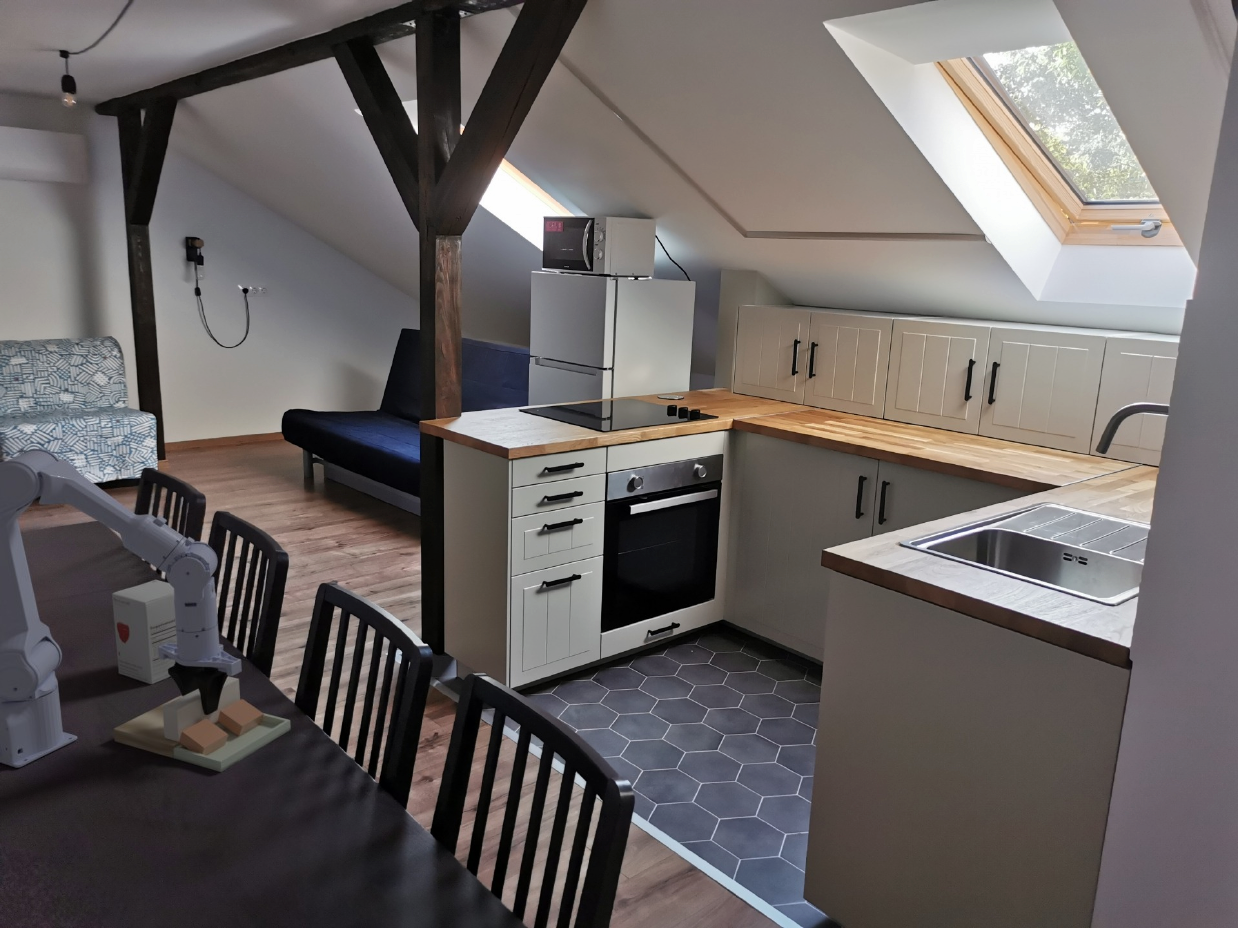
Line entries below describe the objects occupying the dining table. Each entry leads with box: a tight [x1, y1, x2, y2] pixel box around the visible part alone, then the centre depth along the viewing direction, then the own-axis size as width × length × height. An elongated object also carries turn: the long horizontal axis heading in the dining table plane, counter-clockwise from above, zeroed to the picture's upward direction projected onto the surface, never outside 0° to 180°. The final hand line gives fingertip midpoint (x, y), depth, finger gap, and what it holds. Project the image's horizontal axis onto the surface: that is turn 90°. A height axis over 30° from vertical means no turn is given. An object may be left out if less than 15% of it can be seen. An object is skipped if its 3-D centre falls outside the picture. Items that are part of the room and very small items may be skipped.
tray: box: [173, 712, 292, 773], centre depth 141 cm, size 14×9×2 cm, turn 157°
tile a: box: [179, 719, 228, 755], centre depth 139 cm, size 4×4×2 cm
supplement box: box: [111, 579, 177, 685], centre depth 165 cm, size 9×9×15 cm
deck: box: [113, 694, 219, 759], centre depth 145 cm, size 14×12×2 cm
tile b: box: [218, 698, 265, 736], centre depth 145 cm, size 4×4×2 cm
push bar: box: [163, 675, 241, 742], centre depth 143 cm, size 12×3×5 cm, turn 157°
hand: (202, 709), depth 143 cm, fingers closed on push bar, 3 cm apart
